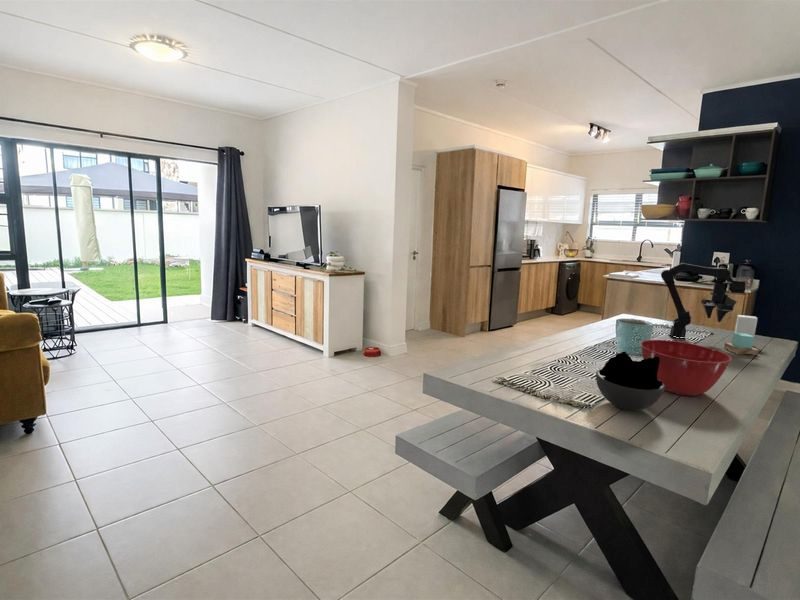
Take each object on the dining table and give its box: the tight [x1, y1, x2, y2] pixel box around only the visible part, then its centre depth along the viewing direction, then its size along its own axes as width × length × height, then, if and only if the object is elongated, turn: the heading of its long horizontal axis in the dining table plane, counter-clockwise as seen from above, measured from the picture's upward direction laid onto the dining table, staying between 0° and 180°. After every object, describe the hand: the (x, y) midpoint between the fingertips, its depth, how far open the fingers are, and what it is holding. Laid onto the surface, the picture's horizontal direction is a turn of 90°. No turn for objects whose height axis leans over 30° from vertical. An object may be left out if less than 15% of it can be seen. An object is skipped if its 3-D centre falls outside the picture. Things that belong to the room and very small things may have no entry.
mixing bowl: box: [640, 339, 733, 397], centre depth 162 cm, size 28×28×15 cm
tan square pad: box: [723, 342, 760, 356], centre depth 220 cm, size 10×10×3 cm
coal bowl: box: [595, 351, 665, 411], centre depth 142 cm, size 20×20×19 cm
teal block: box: [731, 332, 755, 348], centre depth 220 cm, size 6×6×6 cm
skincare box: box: [734, 314, 758, 337], centre depth 236 cm, size 8×7×16 cm
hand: (713, 320), depth 235 cm, fingers open, 9 cm apart
